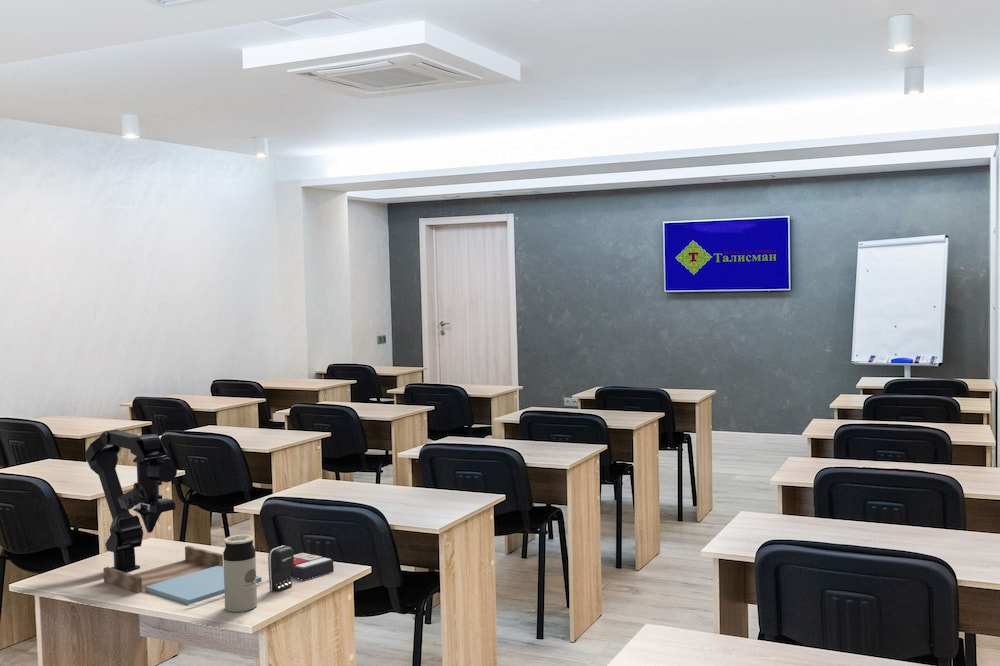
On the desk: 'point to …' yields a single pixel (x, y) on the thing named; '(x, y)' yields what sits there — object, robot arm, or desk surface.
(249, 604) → the travel mug
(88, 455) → the robot arm
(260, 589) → the desk surface
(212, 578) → the panel
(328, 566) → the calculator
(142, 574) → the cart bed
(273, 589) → the battery charger
